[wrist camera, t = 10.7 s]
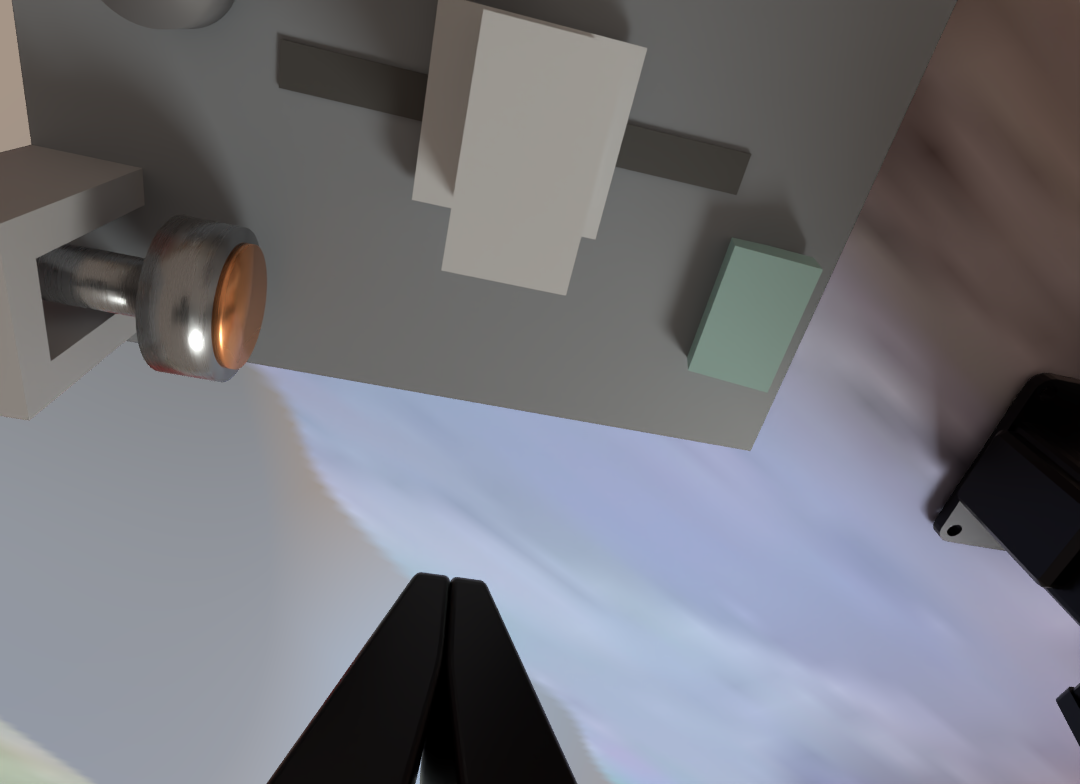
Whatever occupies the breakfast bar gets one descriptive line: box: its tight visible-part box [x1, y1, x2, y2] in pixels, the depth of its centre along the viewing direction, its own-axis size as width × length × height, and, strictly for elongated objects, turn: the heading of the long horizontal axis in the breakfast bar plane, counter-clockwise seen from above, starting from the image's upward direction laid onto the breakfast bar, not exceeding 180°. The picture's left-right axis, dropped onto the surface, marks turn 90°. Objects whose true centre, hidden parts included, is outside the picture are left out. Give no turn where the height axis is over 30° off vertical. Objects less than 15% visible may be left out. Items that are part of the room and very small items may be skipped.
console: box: [0, 0, 957, 451], centre depth 13 cm, size 18×14×7 cm
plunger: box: [36, 215, 267, 382], centre depth 13 cm, size 6×3×3 cm, turn 77°
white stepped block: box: [412, 0, 647, 296], centre depth 12 cm, size 4×4×5 cm
